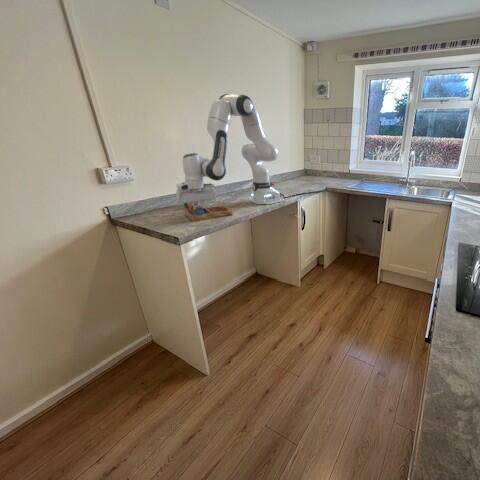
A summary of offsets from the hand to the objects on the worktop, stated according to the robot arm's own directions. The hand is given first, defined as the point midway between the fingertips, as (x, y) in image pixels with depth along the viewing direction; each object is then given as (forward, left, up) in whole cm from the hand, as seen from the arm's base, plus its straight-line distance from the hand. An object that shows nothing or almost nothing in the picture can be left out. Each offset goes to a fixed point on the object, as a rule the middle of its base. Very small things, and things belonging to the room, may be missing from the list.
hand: (198, 209), depth 147 cm
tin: (-2, -27, -5) cm, 28 cm away
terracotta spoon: (+1, -14, -4) cm, 15 cm away
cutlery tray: (-5, 0, -4) cm, 7 cm away
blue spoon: (0, 0, -2) cm, 2 cm away
